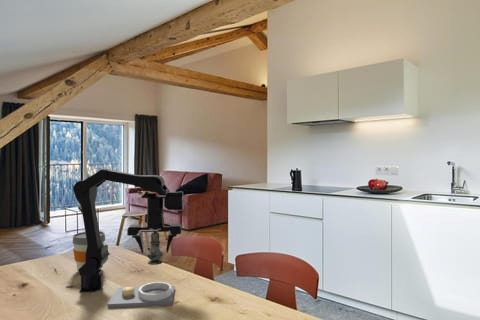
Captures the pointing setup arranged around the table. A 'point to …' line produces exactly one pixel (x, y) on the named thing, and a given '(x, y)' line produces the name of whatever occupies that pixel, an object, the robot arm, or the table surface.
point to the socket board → (137, 300)
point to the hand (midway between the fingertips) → (155, 252)
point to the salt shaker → (155, 250)
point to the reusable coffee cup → (82, 247)
